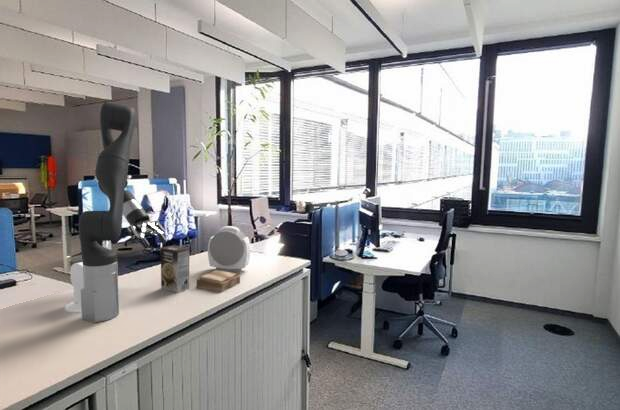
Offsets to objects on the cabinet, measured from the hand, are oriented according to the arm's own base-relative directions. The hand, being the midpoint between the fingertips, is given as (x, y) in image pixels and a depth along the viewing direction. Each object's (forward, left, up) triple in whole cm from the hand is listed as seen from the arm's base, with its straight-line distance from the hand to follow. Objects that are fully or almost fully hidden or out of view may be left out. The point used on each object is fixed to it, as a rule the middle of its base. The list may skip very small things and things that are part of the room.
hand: (156, 244), depth 140 cm
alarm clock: (+29, -13, -16) cm, 36 cm away
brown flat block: (+11, -21, -16) cm, 29 cm away
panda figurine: (-26, +5, -16) cm, 31 cm away
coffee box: (0, -9, -16) cm, 19 cm away
